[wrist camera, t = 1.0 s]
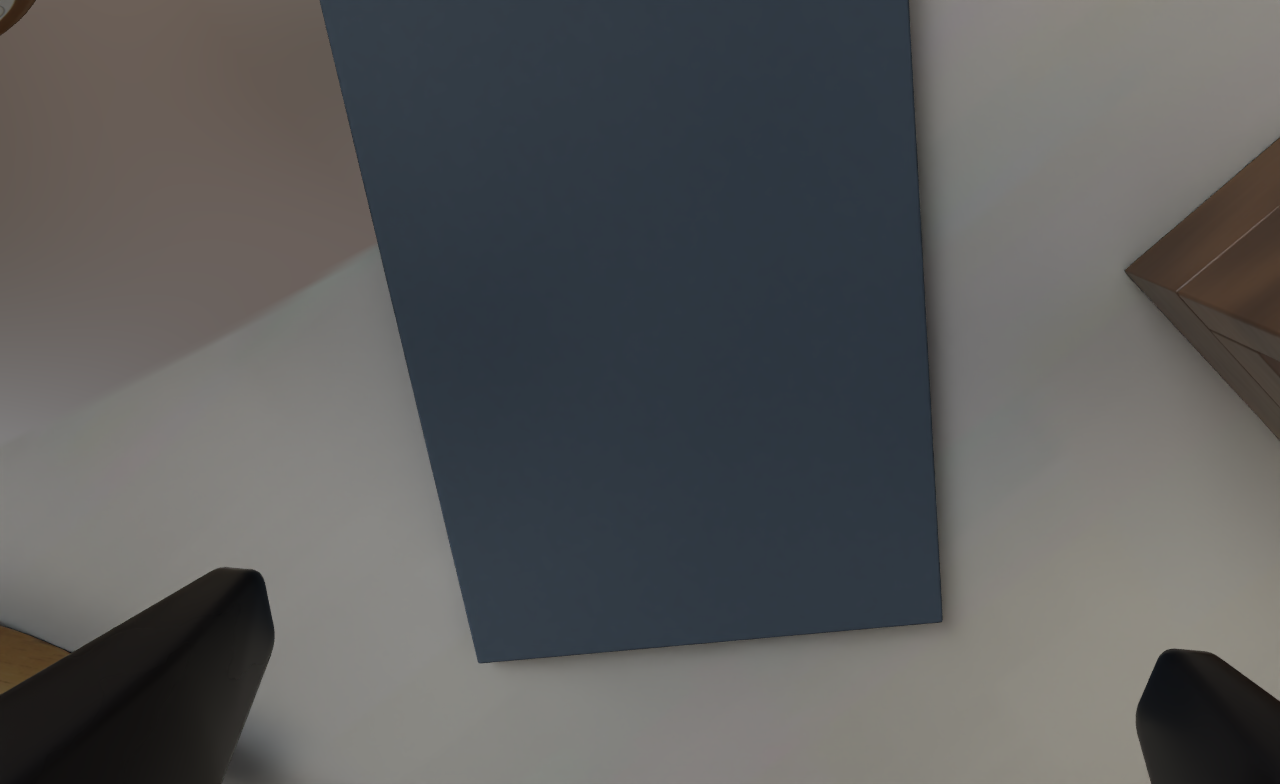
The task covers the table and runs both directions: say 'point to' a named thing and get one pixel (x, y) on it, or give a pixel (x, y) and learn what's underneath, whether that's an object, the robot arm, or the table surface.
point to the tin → (12, 12)
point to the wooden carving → (23, 657)
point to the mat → (657, 309)
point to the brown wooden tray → (1228, 282)
